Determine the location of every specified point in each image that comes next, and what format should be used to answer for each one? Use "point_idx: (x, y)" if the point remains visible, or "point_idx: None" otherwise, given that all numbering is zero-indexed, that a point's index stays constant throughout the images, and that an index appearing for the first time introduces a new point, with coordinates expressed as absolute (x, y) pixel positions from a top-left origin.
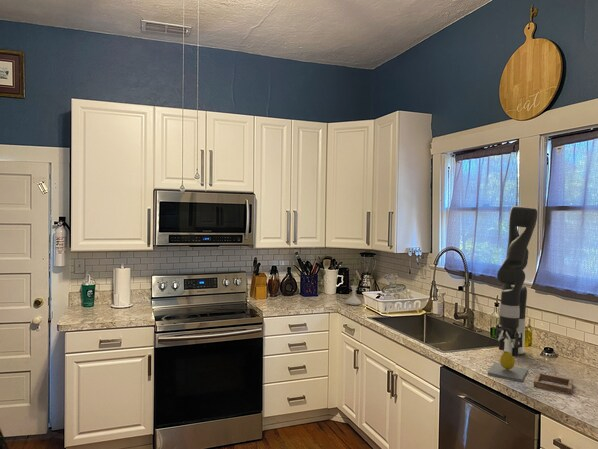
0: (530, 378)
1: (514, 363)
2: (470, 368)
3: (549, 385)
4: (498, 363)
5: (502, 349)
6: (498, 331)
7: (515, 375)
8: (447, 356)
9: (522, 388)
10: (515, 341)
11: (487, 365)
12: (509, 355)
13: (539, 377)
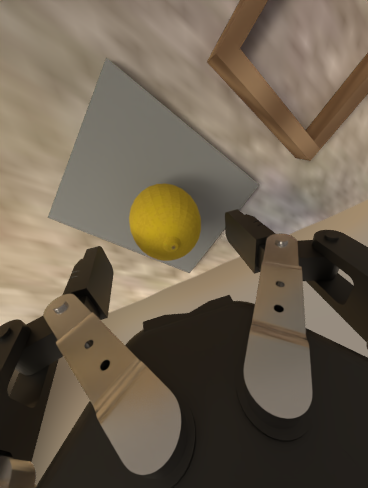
0: (219, 118)
1: (183, 190)
2: (136, 299)
3: (354, 105)
4: (58, 206)
5: (105, 257)
6: (28, 439)
7: (217, 192)
8: None
9: (298, 206)
10: (340, 309)
11: (79, 245)
12: (196, 237)
13: (269, 89)
